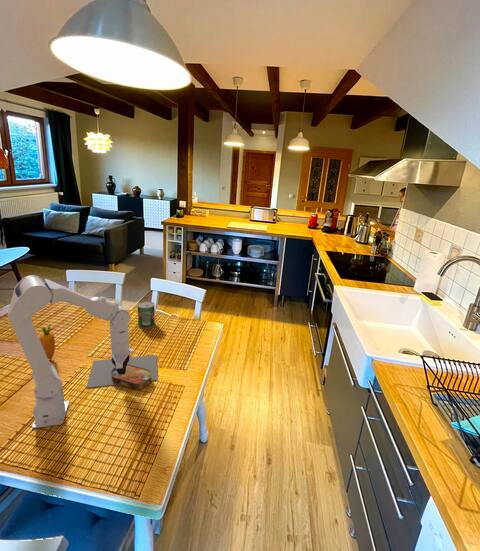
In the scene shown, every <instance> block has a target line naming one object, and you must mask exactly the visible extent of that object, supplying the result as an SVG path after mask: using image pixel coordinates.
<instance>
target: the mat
mask: <svg viewBox="0 0 480 551" xmlns="http://www.w3.org/2000/svg"><path fill="white" fill-rule="evenodd" d="M129 357H130V356H129ZM157 358H158V356H157V354H152V355H151V354H150V355H141V356H140V355H139V356H131V357H130V358H129V362H128V363H127V364H129V365H132V366H136V367H140V368H143V369H147V370H149V371H150V372H151V382H154V381H159V379H158V361H157V360H158V359H157ZM114 368H115V365H114V364H113V363H112V358H108V359H96V360H93V362H92V365H91V368H90V371H89V372H90V373H89V376H88V380H87V383H86V389H93V388H101V387H111V386H120V385H121V384H117V383H115V382H113V380H112V376H111V371H112V370H113V369H114Z"/></svg>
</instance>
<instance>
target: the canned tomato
mask: <svg viewBox="0 0 480 551" xmlns="http://www.w3.org/2000/svg"><path fill="white" fill-rule="evenodd" d="M136 307H137V326H138V328H140V329H144V330H145V329H152V328H153V327H154V326H156V324H155V321H156V320H155V318H156V317H155V314H156V313H155V312H156V311H155V302H153V301H151V300H149V301H148V300H145V301H140V302H138V303H137V305H136Z"/></svg>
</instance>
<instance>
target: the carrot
mask: <svg viewBox="0 0 480 551" xmlns="http://www.w3.org/2000/svg"><path fill="white" fill-rule="evenodd" d="M52 330H53V327H51V324H48V326H47V328H46V327H45V326H42V327H41V331H42V332H43V333H41V334H40V336H39V339H40V342H41V344H42V346H43V349H44V351H45V353H46V356H47V358H48V360H49V361H50V360H52V359H53V357H54V354H55V350H56V341H55V340H56V339H55V333H53V332H51V331H52Z"/></svg>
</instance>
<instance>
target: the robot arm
mask: <svg viewBox="0 0 480 551" xmlns="http://www.w3.org/2000/svg"><path fill="white" fill-rule="evenodd" d="M12 293H13V294H12V297H11V300H10V303H9V306H8V310H7V313H6V314H7V317H8V320H9V323H10V325H11V327H12V329H13V332H14V334H15V336H16V337H17V340H18V342H19V344H20V347H21V350H22V351H23V353H24V355H25V357H26V360H27V362H28V364H29V366H30V368H31V370H32V374H31V375H32V379H33V381H34V384H35V388H34V390H33V391H34V393H33V394H34V399H35V404H34V407H33V409H32V413H33V414H32V415H33V420H34V421H33V423H32V425H31V428H32V429H39V428H45V427H46V428H47V427H53V426H58V425H59V426H60V425H62V424H63V423H64V420H65V416H66V414H67V412H68V407H69V405H70V401H69V400H66V401H65V395H64V388H63V381H62V380H61V378H60V376H59V374H58V372H57V367H56V366H55V364H53V363H51V362H50V359H48V358H47V356H46V353H45V351H44V349H43V346H42V344H41V342H40V336H39V335H38V332H37V331H36V327H35V325H34V324H33V320H32V317H33V316H34V315H35V314H36V313H37V312H39V311H41V309H43V308H45V307H46V306H47V305H48V304H49V303H50V305H54V304H56V303H59V302H61V301H62V302H64V303H68V304H71V305H74V306H77V307H80V308H83V309H85V311H86V313H87V314H88V315H90V316H93V317H94V318H95V317H96V318H98V319H100V320H104V321H107V322H108V321H109V332H110V333H109V334H110V335H109V336H110V348H111V349H110V350H111V351H110V356H111V359H112V363H113V364H114V365H115V367H116V369H117V372H118V374H119V375H123V374H125V372H126V366H127V363H128V362H129V358H130V354H133V352H134V348H132V347H131V348H130V336H129V335H130V334H129V323H130V322H131V319H132V316H131V315H130V313H129V311H128V310H127V309H126V308H125V307H124V306H123V305H122V304H120V303H119V302H118V303H117V302H111V301H108V300H107V298H106V297H104V296H102V295H101V296H100V297H99V296H93V297H88V296H86V295H84V294H82V293H79V292H78V291H75V290H72V289H71V288H68V287H66V286H63V285H61V284H60V283H57V282H55V281H54V280H53V281H52V280H50V279H47V278H44V279H43V278H41V277H40V276H38V275H33V274H32V275H27V276H24V277H23V278H21V279H20V281H19V282H18V283H17V284H16V285H15V286H14V288H13V292H12Z"/></svg>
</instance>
